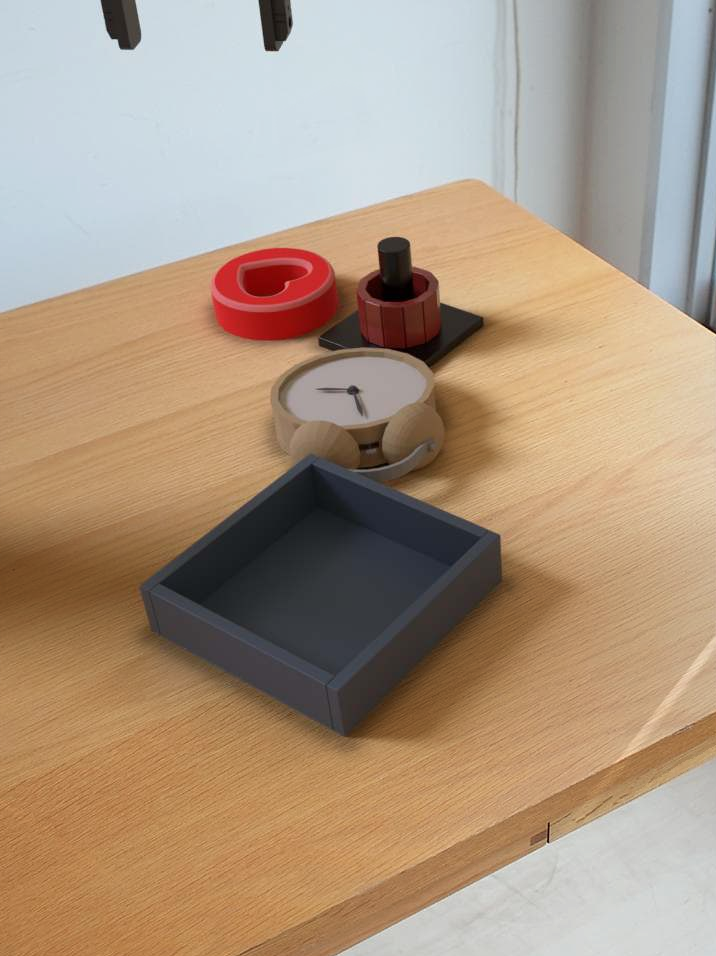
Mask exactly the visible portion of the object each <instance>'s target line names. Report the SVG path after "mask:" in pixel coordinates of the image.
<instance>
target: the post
mask: <svg viewBox="0 0 716 956" xmlns="http://www.w3.org/2000/svg"><path fill="white" fill-rule="evenodd" d="M376 246H377V247H376V249H377V257H378V267H379V268H378V269H380V279H381V289H382V299H383V302H404V301H408V300H411V299H415V296H414V284H413V271H412V266H413V260H412V259H413V258H412V250H411V249H412V248H411V242H410V241H409V239H407V238H405V237H402V236H390V237H389V236H388V237H385V238H382V239H381V240H379V242H378V243H377V245H376ZM440 308H441V327H440V331H439V333H438V334H437V335H436V336H435V337H433V338H432V339H431V340H429V341H428V342H425V343H424V344H420V345H417V346H413V347H409V348H407V347H406V348H386V347H381V346H378V345H376V344H373V343H370V342H369V341H367V339H366V338H365V337H364V335H363V334H362V333H361V328H360V319H359V310H358V309H356V310H354V312H352V313H351V314H349V315H348V316H346V317H345V318H344V319H342V320H340V321H339V322H338V323H336V324H335V325H333V326H332V327H330V328H329V329H327V330H326V331H325V332H323V333H322V334H321V335H319V336H318V337H317V340H318V341H317V342H318V346H319V347H321V348H323V349H325V350H326V349H327V350H329V351H330V352H333V351H337V350H343V349H353V348H381V349H390V350H394V351H398V352H403V353H407V354H409V355H411V356H413V357H415V358H417V359H419V360H421V361H423V362H424V363H425V364H426V365H427V366H428V368H429V369H431V368H432V367H433V366H434V365H436V364H437V363H438V362H440V360H442V359H443V358H444V357H446V356H447V355H448V354H450V353H451V352H453V351H454V350H455V349H456V348H458V347H459V346H460V345H461V344H463V343H464V342H465V341H466V340H468V339H469V338H470V337H472V336H473V335H474V334H475V333H477V332H478V331H479V330H480V329H482V328H483V327H484V326H485V322H484V321H485V320H484V316H482V315H478V314H475V313H472V312H470V311H466V310H463V309H461V308H457V307H455V306H452V305H449V304H446V303H443V302H440Z"/></svg>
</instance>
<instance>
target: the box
mask: <svg viewBox="0 0 716 956" xmlns="http://www.w3.org/2000/svg"><path fill="white" fill-rule="evenodd" d="M502 570H503V565H502V542H501V534H500V533H497V532H495V531H492V530H490V529H488V528H485V527H484V526H481V525H478V524H477V523H474V522H472V521H470V520H468V519H465V518H463V517H460V516H458V515H456V514H453V513H451V512H448V511H446V510H443V509H442V508H439V507H437V506H434V505H432V504H429V503H427V502H426V501H423V500H420V499H418V498H416V497H413V496H412V495H409V494H406V493H404V492H402V491H400V490H397V489H395V488H392V487H391V486H388V485H387V484H386V485H385V484H383V483H382V482H381V483H379V482H376V481H374V480H372V479H369V478H367V477H365V476H362V475H360V474H358V473H355V472H353V471H351V470H348V469H346V468H344V467H341V466H339V465H337V464H334V463H332V462H330V461H327V460H325V459H323V458H320V457H318V456H316V455H313V454H311V453H310V454H309V455H308V456H306V457H305V458H304V459H302V460H301V461H300V462H299V463H297V464H296V465H295V466H293V465H292V467H290V468H289V469H288V470H287V471H286V472H284V473H283V474H282V475H281V476H279V477H278V478H277V479H275V480H274V481H273V482H272V483H270V484H268V485H267V486H266V487H264V489H262V490H261V491H259V492H258V493H257V494H256V495H254V496H253V497H251V499H249V500H248V501H246V503H244V504H243V505H242V506H240V507H239V508H238V509H237V510H235V511H234V512H232V513H231V514H230V515H228V516H227V517H226V518H225V519H223V520H222V521H221V522H220V523H218V524H217V525H216V526H214V527H213V528H212V529H210V530H209V531H207V532H206V533H205V534H204V535H203V536H201V537H200V538H199V539H198V540H196V541H195V542H193V543H192V544H191V545H190V546H189V547H187V548H186V549H185V550H183V551H182V552H180V553H179V555H177V556H176V557H174V558H173V559H172V560H171V561H169V562H168V563H166V564H165V565H163V566H162V567H161V568H160V569H159V570H158V571H156V572H155V573H154V574H153V575H151V576H150V577H149V578H147V579H146V580H145V581H143V582H142V583H141V584H139V591H140V594H141V598H142V601H143V606H144V609H145V612H146V616H147V619H148V623H149V627H150V630H151V632H153V633H154V634H156V635H158V636H160V637H161V638H164V639H165V640H167V641H169V642H171V643H173V644H175V645H176V646H178V647H180V648H181V649H184V650H185V651H187V652H189V653H190V654H193V655H194V656H196V657H198V658H200V659H201V660H203V661H206V662H207V663H209V664H210V665H213V666H214V667H216V668H218V669H220V670H222V671H224V673H227V674H229V675H231V676H233V677H234V678H236V679H238V680H240V681H242V682H243V683H245V684H247V685H249V686H250V687H252V688H255V689H256V690H258V691H260V692H262V693H263V694H265V695H267V696H269V697H270V698H273V699H274V700H276V701H278V702H280V703H281V704H283V705H285V706H287V707H289V708H290V709H292V710H294V711H296V712H298V713H300V714H301V715H303V716H305V717H307V718H309V719H311V720H312V721H314V722H316V723H318V724H320V725H322V726H324V727H325V728H327V729H329V730H331V731H332V732H334V733H335V734H338V735H340V737H343V738H346V737H348V735H349V734H350V733H352V731H353V730H354V729H355V728H356V727H357V726H358V725H359V724H360V723H361V722H363V720H364V719H365V718H367V716H368V715H369V714H370V713H371V712H372V711H373V710H375V708H376V707H378V705H379V704H380V703H381V702H382V701H383V700H384V699H385V698H386V697H387V696H388V695H389V694H390V693H391V692H392V691H394V689H396V687H397V686H398V685H399V684H400V683H401V682H402V681H403V680H404V679H405V678H406V677H407V676H408V675H409V674H410V673H411V672H412V671H413V670H414V669H415V668H416V667H417V666H418V665H419V664H420V663H421V662H422V661H423V660H424V659H425V658H426V657H427V656H428V655H429V654H430V653H431V652H432V651H433V650H434V649H435V648H436V647H437V646H439V644H440V643H442V641H443V640H444V639H445V638H446V637H448V635H449V634H450V633H451V632H452V631H453V630H454V629H455V628H456V627H458V625H459V624H460V623H461V622H462V621H463V620H464V619H465V618H466V617H468V615H470V613H471V612H472V611H473V610H474V609H475V608H476V607H477V606H478V605H479V604H480V603H481V602H482V601H483V600H484V599H485V598H486V597H487V596H488V595H489V594H490V593H491V592H492V591H493V590H494V589H495V588H496V587H497V586H498V585H499V584H500V583H501V582H502V581H503V571H502Z"/></svg>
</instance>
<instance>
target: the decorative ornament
mask: <svg viewBox="0 0 716 956" xmlns="http://www.w3.org/2000/svg"><path fill="white" fill-rule="evenodd" d="M209 286H210V293H211V299H212V304H213V308H214V314H215V318H216V322H217V324H218V325H219V327H220V328H221V329H222V330H224V331H225V332H227V333H228V334H231V335H232V336H235V337H239V338H242V339H246V340H251V341H267V342H268V341H282V340H288V339H293V338H294V339H295V338H297V337H301V336H304V335H306V334H309V333H311V332H313V331H315V330H317V329H319V328H321V327H323V326H324V325H325V324H327V323H328V322H329V321H331V320H332V318H333V317H334V315H336V312H337V310H338V307H339V298H338V290H337V289H338V288H337V281H336V274H335V270H334V268H333V265H332V264H331V263H330V262H329V261H328V260H327V259H326V258H324V257H323V256H322V255H320V254H318V253H316V252H314V251H310V250H308V249H301V248H295V247H269V248H263V249H258V250H253V251H250V252H246V253H243V254H241V255H238V256H236V257H233V258H231V259H230V260H228V261H226V262H225V263H224V264H223V265H222V266H220V267H219V268H218V269H217V270H216V272H214V275H213V277H212V278H211V281H210V285H209Z"/></svg>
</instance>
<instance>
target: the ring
mask: <svg viewBox="0 0 716 956" xmlns="http://www.w3.org/2000/svg"><path fill="white" fill-rule="evenodd" d="M412 271H413V284H414V296H415V299H411V300H408V301H404V302H383V299H382V289H381V279H380V269H379V268H378V269H375V270H374V269H373V271H371V272H369V273H368V274H366V275H365V276H363V277H362V278H360V280H359V281H358V284H357V287H356V290H355V291H356V301H357V310H359V319H360V328H361V333H362V334H363V335H364V337H365V338H366V339H367V341H369V342H370V343H373V344H376V345H378V346H381V347H386V348H406V347H407V348H409V347H413V346H417V345H420V344H424V343H425V342H428V341H429V340H431V339H432V338H433V337H435V336H436V335H437V334H438V333H439V331H440V327H441V308H440V303H441V297H440V296H441V295H440V282H439V279H438V278H437V277H436V276H435V275H434V274H433V272H431V271H429V270H426V269H424V268H421V267H417V266H413V265H412Z"/></svg>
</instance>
